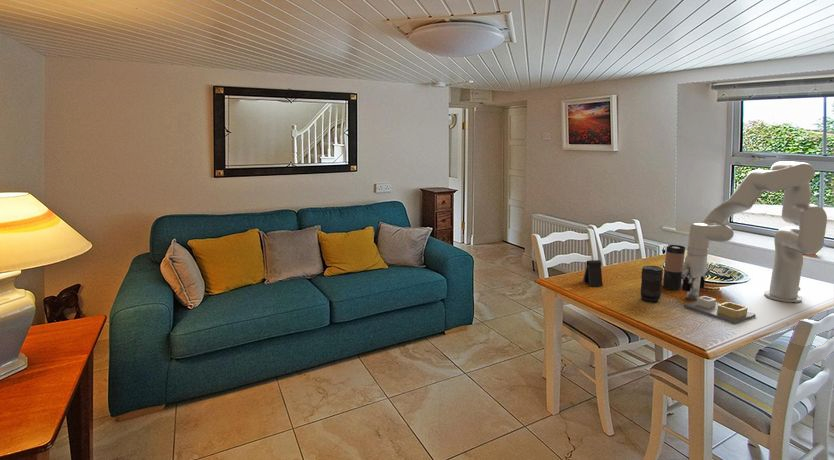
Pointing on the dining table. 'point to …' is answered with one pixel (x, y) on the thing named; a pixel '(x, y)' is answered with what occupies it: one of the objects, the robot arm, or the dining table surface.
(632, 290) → the dining table surface
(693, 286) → the light grey rectangular block
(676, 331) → the dining table surface
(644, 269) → the camera lens
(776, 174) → the robot arm
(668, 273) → the travel mug
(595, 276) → the door stopper
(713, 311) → the fitting board
